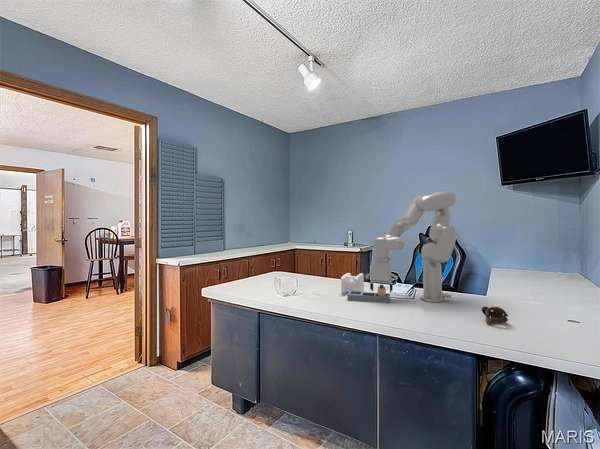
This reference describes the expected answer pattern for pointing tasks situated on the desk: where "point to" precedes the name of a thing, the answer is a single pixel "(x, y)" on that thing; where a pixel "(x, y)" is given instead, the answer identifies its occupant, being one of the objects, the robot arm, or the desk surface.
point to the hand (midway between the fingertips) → (381, 291)
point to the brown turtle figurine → (494, 315)
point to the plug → (382, 291)
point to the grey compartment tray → (367, 297)
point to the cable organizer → (352, 283)
